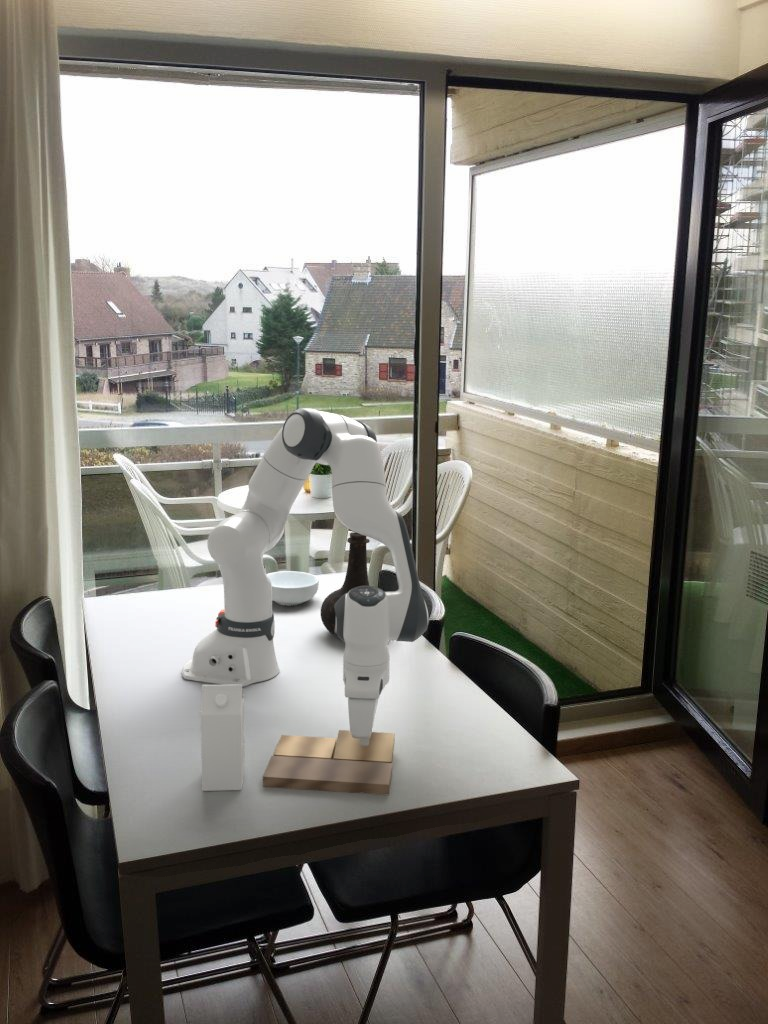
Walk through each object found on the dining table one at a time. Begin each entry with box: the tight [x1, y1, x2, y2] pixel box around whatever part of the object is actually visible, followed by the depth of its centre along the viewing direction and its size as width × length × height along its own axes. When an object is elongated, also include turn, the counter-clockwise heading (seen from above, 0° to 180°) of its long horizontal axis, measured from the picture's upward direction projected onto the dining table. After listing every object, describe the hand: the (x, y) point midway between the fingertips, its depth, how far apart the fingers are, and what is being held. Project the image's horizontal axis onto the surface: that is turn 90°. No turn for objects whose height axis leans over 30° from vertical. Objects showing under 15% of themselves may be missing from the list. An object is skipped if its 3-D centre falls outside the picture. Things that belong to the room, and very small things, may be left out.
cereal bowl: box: [266, 570, 320, 607], centre depth 272 cm, size 17×17×7 cm
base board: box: [262, 755, 393, 795], centre depth 172 cm, size 23×8×2 cm, turn 85°
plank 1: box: [273, 734, 338, 759], centre depth 181 cm, size 11×8×2 cm
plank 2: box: [333, 729, 396, 764], centre depth 180 cm, size 11×8×2 cm
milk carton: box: [199, 684, 245, 792], centre depth 169 cm, size 7×7×19 cm
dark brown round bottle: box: [320, 531, 371, 638], centre depth 243 cm, size 18×18×28 cm
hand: (365, 738), depth 180 cm, fingers open, 3 cm apart
